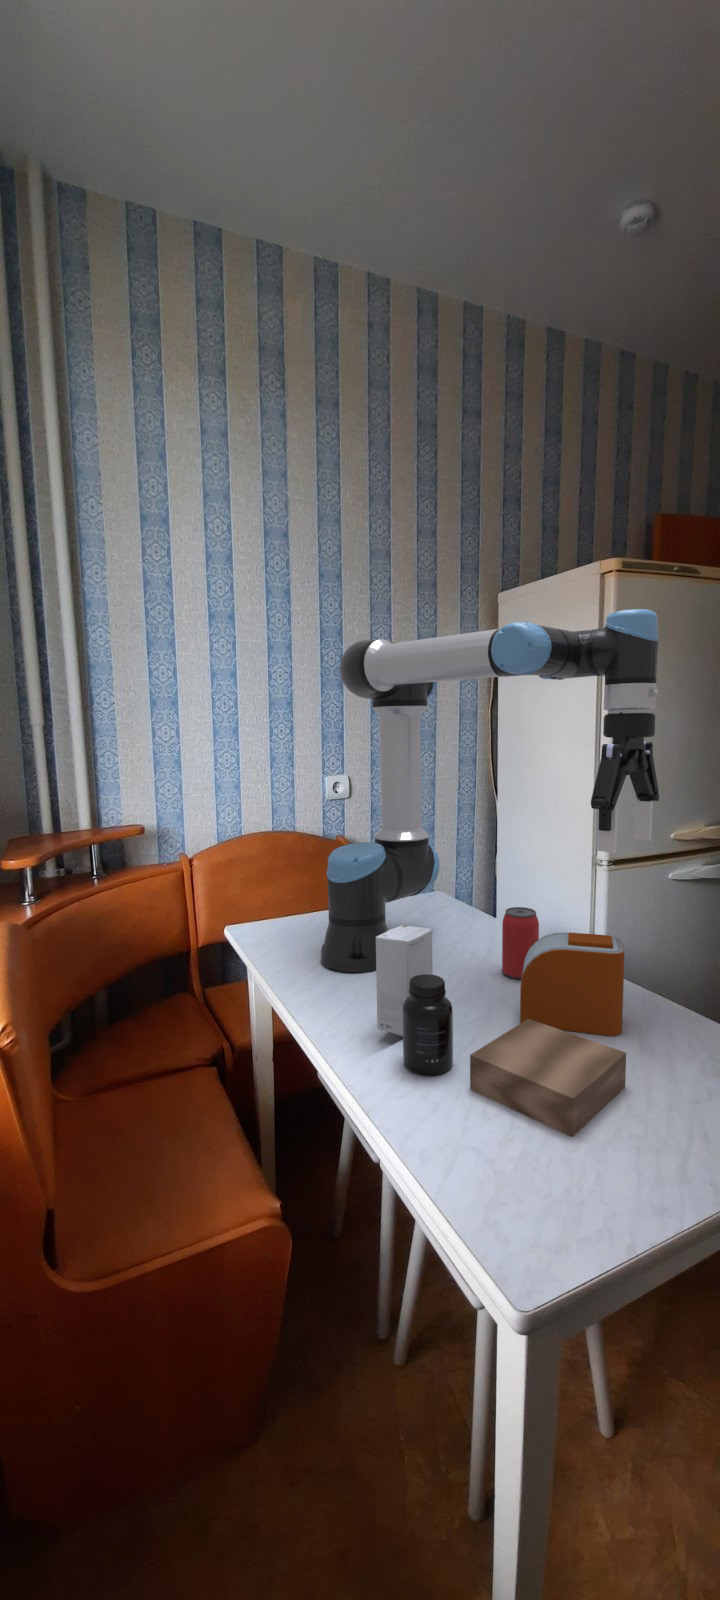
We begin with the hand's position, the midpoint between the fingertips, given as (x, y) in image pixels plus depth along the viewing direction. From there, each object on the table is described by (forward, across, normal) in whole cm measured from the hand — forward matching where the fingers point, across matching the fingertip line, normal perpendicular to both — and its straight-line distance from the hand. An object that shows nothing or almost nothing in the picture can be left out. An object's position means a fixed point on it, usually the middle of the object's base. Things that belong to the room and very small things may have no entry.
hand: (625, 845), depth 104 cm
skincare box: (+27, -30, +21) cm, 45 cm away
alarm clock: (+27, -11, +3) cm, 29 cm away
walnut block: (+27, -31, -4) cm, 41 cm away
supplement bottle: (+27, -37, +11) cm, 47 cm away
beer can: (+27, 0, +19) cm, 33 cm away
